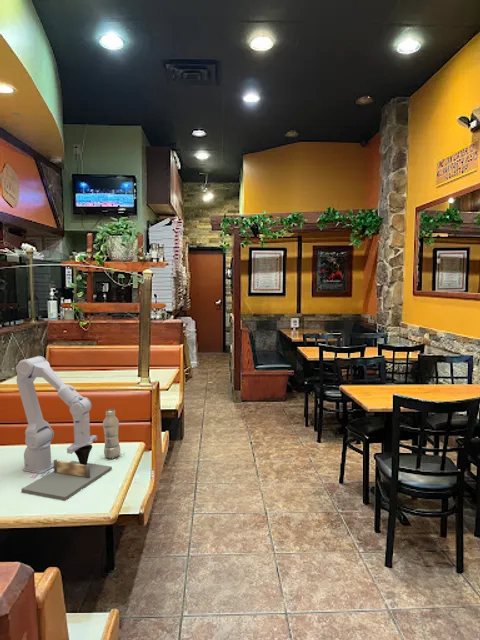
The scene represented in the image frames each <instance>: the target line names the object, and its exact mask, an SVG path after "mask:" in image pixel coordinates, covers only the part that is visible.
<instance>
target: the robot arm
mask: <svg viewBox="0 0 480 640" xmlns="http://www.w3.org/2000/svg"><path fill="white" fill-rule="evenodd" d="M15 371H16V373H17V374H16V384H17V388H18V391H19V396H20V399H21V403H22V406H23V409H24V413H25V417H26V421H27V427H26V429H25V431H24V434H25V439H24V443H25V446H26V448H25V449H24V452H23V461H24V462H23V463H24V468H23V469H22V471H25V472H30V473H35V474H36V473H37V474H43V473H46V472H47V471H49V470H51V469H52V468H53V469H54V463H52V452H51V451H52V450H51V449H52V448H51V443H52V441H53V439H54V435H55V431H54V430H53V428H52V427H51V426H50V423H49V422H48V421H46V420H45V419H44V416H43V413H42V409H41V406H40V401H39V399H38V398H39V397H38V395H37V394H38V393H37V391H36V387H35V382H34V381H35V380H36V378H42V379H44V380H45V381H46V382H47V383H48V384H49V385H50V386H52V387H53V388H54V389H55V390H56V391H57V396H58V397H59V398H60V399H61V400H62V401H63V402H64V403H65V404H66V406H68V407H69V408H68V409H69V413H70V415H71V416H72V420H73V437H74V438H73V439H74V442H72V444H71V445H69V446H68V447H67V448H66V454H71V455H72V454H73V453H74V454H75V455H76V457H77V459H78V462H80V464H82V465H87V463H88V460H89V456H90V453H91V451H92V449H93V445H92V444H93V442H96V441H98V435H95V434H94V435H93V434H92V435H91V427H90V426H91V425H90V424H91V423H90V411H91V410H92V406H93V405H92V402H91V400H90V399H89V398H88V397H86V396H85V397H83V396H82V395H81V394H80V393H79V392H78V391H77V390H76V389H75V387H74V386H73V385H71V384H65V382H64V381H63V380H62V379H61V378H60V377H59V376H58V375H57V373H56V372H55V371H54V369H52V367H51V365H50V362H49V361H47V360H46V358H45V357H44V356H41V355H36V356H33V357H30V358H26V359H21V360H20V361H18V363H17V364H16V367H15Z"/></svg>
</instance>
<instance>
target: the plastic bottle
mask: <svg viewBox="0 0 480 640" xmlns="http://www.w3.org/2000/svg"><path fill="white" fill-rule="evenodd" d="M119 425H120V421H119V419H118V417H117V416H116V409H115V408H108V409H106V410H105V418H104V419H103V422H102V427H103V433H104V448H103V454H104V457H105V458H107V459H115V458H117V457H119V456H120V454H121V446H120V441H119Z"/></svg>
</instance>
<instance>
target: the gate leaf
mask: <svg viewBox="0 0 480 640" xmlns="http://www.w3.org/2000/svg"><path fill="white" fill-rule="evenodd" d="M69 462H70V461H69ZM69 462H68V461H63V460H57V462H56V464H57V472H59V473H65V474H71V475H77V476H83V477H85V476H86V465H82V464H76V463H69Z"/></svg>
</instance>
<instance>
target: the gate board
mask: <svg viewBox="0 0 480 640" xmlns="http://www.w3.org/2000/svg"><path fill="white" fill-rule="evenodd" d="M57 461H58V459H54V460H53V464H54V467H53V471H51V472H49V473H47V474H46V475H44V476H42V477H41V478H38V479H37V480H35V481H33V482H31V483H29V484H28V485H26V486H24V487H22V488H21V489H20V490H21V493H25V494H29V495H34V496H39V497H43V498H50V499H53V500H54V499H55V500H60V501H68V500H69V499H70V498H71V497H73V496H75V495H76V494H78V493H79V492H80V490H81V489H82V490H84V489H85V488H87V487H88V486H90V485H91V484H92V483H94V482H96V481H97V480H99V479H100V478H101V477H103V476H104V475H106V474H107V473H109V472H110V471H112V470H113V468H112V466H109V465H103V464H96V463H91V462H87V465H86V476H85V477H83V476H77V475H71V474H65V473H59V472H57V464H56V462H57ZM69 463H76V464H80V462H79V460H78V461H77V460H70V461H69ZM83 488H84V489H83ZM82 490H81V491H82ZM77 492H78V493H77ZM74 494H75V495H74Z"/></svg>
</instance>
